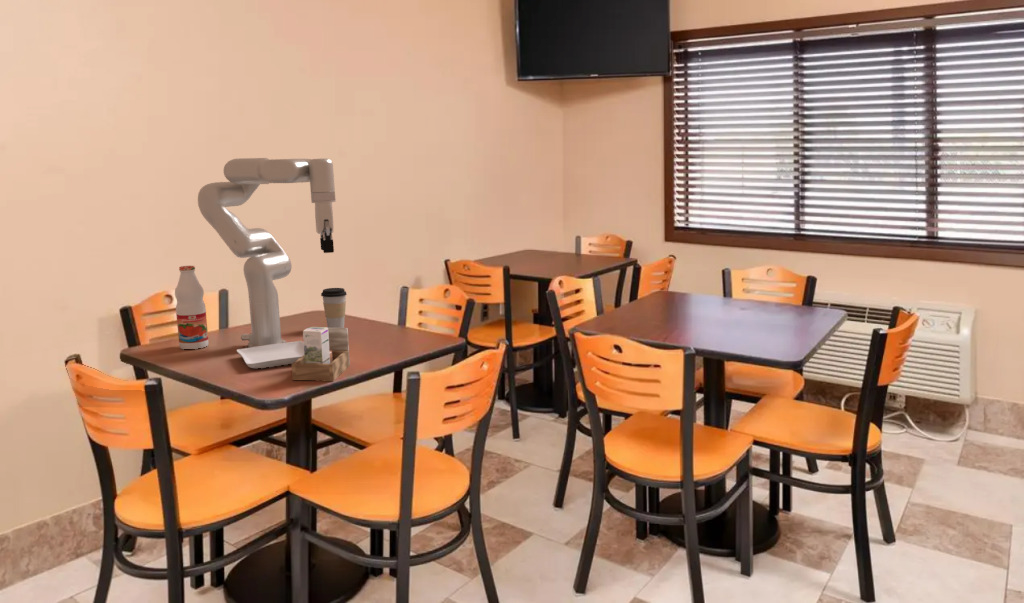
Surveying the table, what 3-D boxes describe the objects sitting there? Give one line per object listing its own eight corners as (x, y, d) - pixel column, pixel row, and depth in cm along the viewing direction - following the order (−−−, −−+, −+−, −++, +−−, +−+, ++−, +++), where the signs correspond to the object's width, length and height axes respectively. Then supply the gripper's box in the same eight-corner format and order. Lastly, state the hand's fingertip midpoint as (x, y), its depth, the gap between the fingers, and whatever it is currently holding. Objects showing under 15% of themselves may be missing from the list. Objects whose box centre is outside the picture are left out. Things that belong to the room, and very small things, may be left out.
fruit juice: (209, 342, 273) (202, 263, 268) (208, 348, 264) (201, 267, 259) (180, 345, 270) (172, 265, 265) (178, 351, 261) (170, 269, 256)
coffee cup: (345, 331, 288) (343, 291, 285) (320, 331, 288) (317, 291, 285) (351, 325, 297) (348, 287, 294) (326, 326, 297) (324, 287, 294)
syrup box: (331, 373, 231) (328, 326, 228) (323, 379, 225) (320, 330, 223) (313, 373, 232) (310, 326, 229) (305, 378, 226) (302, 330, 224)
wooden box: (333, 381, 223) (331, 340, 221) (291, 381, 224) (288, 340, 222) (349, 365, 240) (347, 327, 238) (310, 365, 241) (307, 327, 239)
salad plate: (247, 373, 234) (246, 362, 233) (236, 358, 252) (235, 348, 252) (317, 364, 243) (317, 353, 243) (301, 350, 262) (301, 340, 261)
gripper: (309, 197, 255) (313, 249, 258) (313, 199, 238) (317, 254, 241) (332, 196, 257) (336, 247, 260) (338, 198, 241) (342, 253, 244)
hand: (327, 251), depth 251 cm, fingers open, 9 cm apart
